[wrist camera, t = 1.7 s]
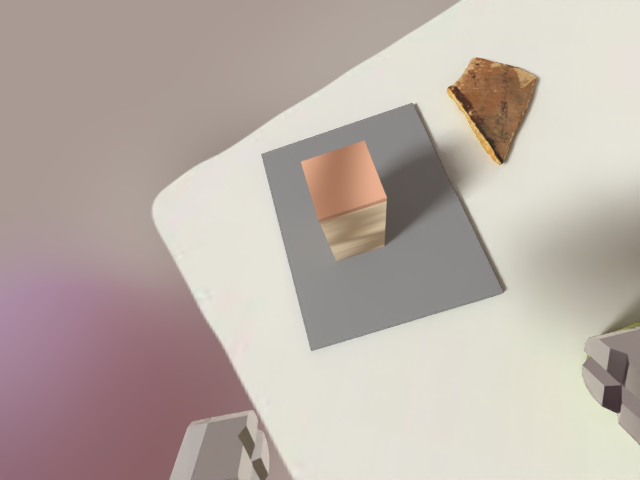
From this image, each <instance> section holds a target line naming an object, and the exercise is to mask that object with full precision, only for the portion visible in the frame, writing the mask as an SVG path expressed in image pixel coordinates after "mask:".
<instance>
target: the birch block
mask: <svg viewBox="0 0 640 480" xmlns="http://www.w3.org/2000/svg"><path fill="white" fill-rule="evenodd" d="M301 164H302V168H303V171H304V174H305V178H306V181H307V184H308V188H309V191H310V194H311V198H312V201H313V204H314V208H315V211H316V214H317V217H318V221H319V223H320V225H321V227H322V230H323V232H324V234H325V236H326V239H327V241H328V243H329V246H330V248H331V250H332V252H333V255H334V257H335V259H336V262H337V261H340V260H343V259H347V258H350V257H353V256H356V255H359V254H362V253H366V252H369V251H372V250H375V249H378V248H381V247H384V244H385V224H386V205H387V197H386V194H385V192H384V189H383V186H382V184H381V181H380V179H379V176H378V174H377V171H376V169H375V166H374V164H373V161H372V158H371V156H370V153H369V151H368V148H367V146H366V143H365V141H361V142H358V143H355V144H352V145H349V146H346V147H343V148H340V149H337V150H334V151H331V152H328V153H325V154H322V155H319V156H316V157H313V158H310V159H307V160H304V161H301Z"/></svg>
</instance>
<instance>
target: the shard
mask: <svg viewBox="0 0 640 480" xmlns="http://www.w3.org/2000/svg"><path fill="white" fill-rule="evenodd" d="M536 80H537V78H536V76H534V75H533V74H531V73H529V72H527V71H524V70H523V69H521V68H518V67H514V66H510V65H504V64H501V63H497V62H492V61H488V60H485V59H482V58H473V59H471V61H470V63H469V65H468V67H467V68H466V70H465V72H464V73H463V75H462V76H461V77H460V78H459V79H458V81H457V82H456V83H455V84H454V85H452V86H450V87H448V89H447V92H448V95H449V97H451V98H452V99H453V100H454V101H455V102H456V104H457V105H458V107H459V109H460V110H461V111H462V112H463V113H464V114H465V116H466V118H467V119H468V122H469V124H470V126H471V128H472V129H473V131H474V133H475V134H476V136H477V138H478V140H479V141H480V143H481V144H482V146H483V148H484V149H485V150H486V152H487V153H488V154H489V155H490V156H491V157H492V159H493V160H494V161H495V162H496V163H497V164H499V165H500V164H503V161H504V160H505V156H506V154H507V152H508V150H509V147H510V142H511V140H512V138H513V136H514V133H515V131H516V129H517V128H518V126H519V125H520V122H521V120H522V117H523V115H524V113H525V111H526V109H527V107H528V103H529V101H530V99H531V95H532V93H533V89H532V88H533V86H534V84H535V81H536Z"/></svg>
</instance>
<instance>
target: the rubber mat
mask: <svg viewBox="0 0 640 480" xmlns="http://www.w3.org/2000/svg"><path fill="white" fill-rule="evenodd" d="M361 141H365V143H366V146H367V148H368V151H369V153H370V156H371V158H372V161H373V164H374V166H375V169H376V171H377V174H378V176H379V179H380V181H381V184H382V186H383V189H384V192H385V194H386V197H387V205H386V224H385V244H384V247H381V248H378V249H375V250H372V251H369V252H366V253H362V254H359V255H356V256H353V257H350V258H347V259H343V260H340V261H337V262H336V259H335V257H334V255H333V252H332V250H331V248H330V246H329V243H328V241H327V239H326V236H325V234H324V232H323V230H322V227H321V225H320V223H319V221H318V217H317V214H316V211H315V208H314V204H313V201H312V198H311V194H310V191H309V188H308V184H307V181H306V178H305V174H304V171H303V168H302V164H301V161H304V160H307V159H310V158H313V157H316V156H319V155H322V154H325V153H328V152H331V151H334V150H337V149H340V148H343V147H346V146H349V145H352V144H355V143H358V142H361ZM261 155H262V159H263V163H264V167H265V171H266V175H267V179H268V182H269V186H270V190H271V194H272V198H273V202H274V206H275V210H276V214H277V218H278V222H279V226H280V230H281V234H282V238H283V242H284V246H285V250H286V254H287V258H288V262H289V266H290V269H291V273H292V277H293V281H294V285H295V289H296V293H297V297H298V301H299V305H300V309H301V313H302V317H303V321H304V325H305V329H306V333H307V337H308V341H309V345H310V349H311V351H313V350H316V349H320V348H323V347H326V346H330V345H333V344H336V343H340V342H343V341H346V340H350V339H353V338H356V337H360V336H363V335H366V334H370V333H373V332H376V331H380V330H383V329H386V328H389V327H393V326H396V325H399V324H403V323H406V322H409V321H413V320H416V319H419V318H423V317H426V316H429V315H433V314H436V313H439V312H443V311H446V310H449V309H453V308H456V307H459V306H463V305H466V304H469V303H473V302H476V301H479V300H483V299H486V298H489V297H493V296H496V295H499V294H502V293H504V292H503V290H502V288H501V286H500V284H499V282H498V280H497V278H496V276H495V274H494V271H493V269H492V267H491V265H490V263H489V261H488V259H487V257H486V255H485V253H484V251H483V249H482V247H481V244H480V242H479V240H478V238H477V236H476V234H475V232H474V230H473V228H472V226H471V224H470V222H469V219H468V217H467V215H466V213H465V211H464V209H463V207H462V205H461V203H460V201H459V199H458V197H457V195H456V192H455V190H454V188H453V186H452V184H451V182H450V180H449V178H448V176H447V174H446V172H445V170H444V167H443V165H442V163H441V161H440V159H439V157H438V155H437V153H436V151H435V149H434V147H433V145H432V143H431V140H430V138H429V136H428V134H427V132H426V130H425V128H424V126H423V124H422V122H421V120H420V118H419V116H418V113H417V111H416V109H415V107H414V105H413V103H410V104H407V105H405V106H402V107H399V108H396V109H393V110H390V111H387V112H384V113H381V114H378V115H375V116H372V117H369V118H366V119H363V120H360V121H357V122H354V123H351V124H349V125H346V126H343V127H340V128H337V129H334V130H331V131H328V132H325V133H322V134H319V135H316V136H313V137H310V138H307V139H304V140H301V141H298V142H296V143H293V144H290V145H287V146H284V147H281V148H278V149H275V150H272V151H269V152H266V153H263V154H261Z"/></svg>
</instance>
